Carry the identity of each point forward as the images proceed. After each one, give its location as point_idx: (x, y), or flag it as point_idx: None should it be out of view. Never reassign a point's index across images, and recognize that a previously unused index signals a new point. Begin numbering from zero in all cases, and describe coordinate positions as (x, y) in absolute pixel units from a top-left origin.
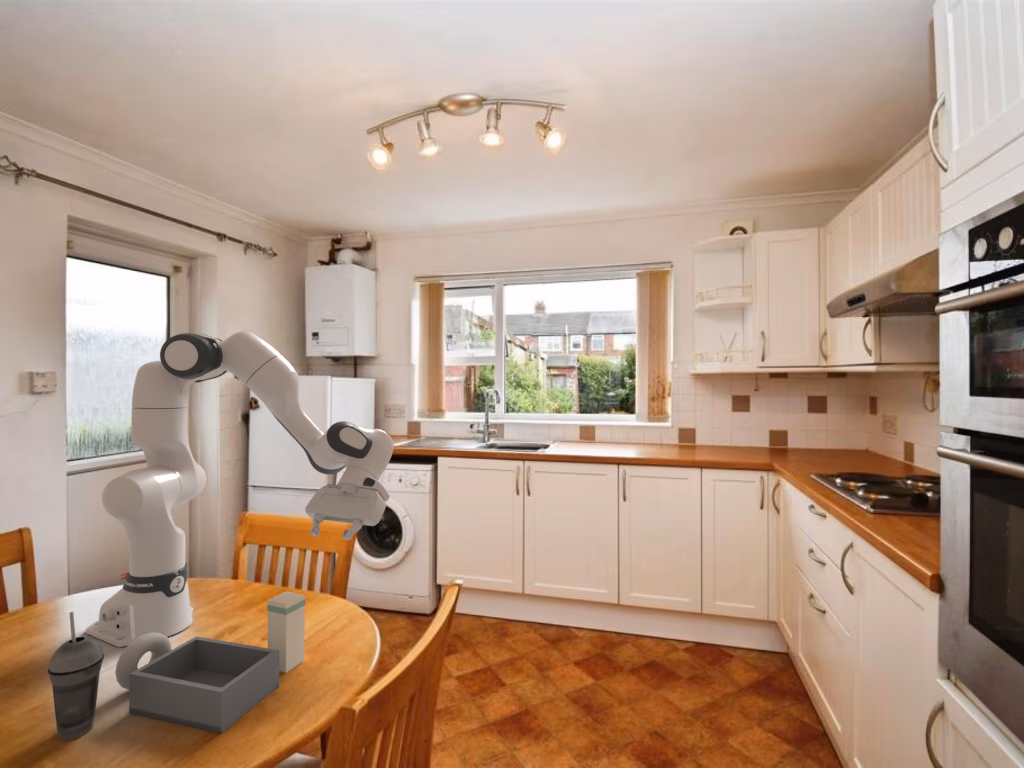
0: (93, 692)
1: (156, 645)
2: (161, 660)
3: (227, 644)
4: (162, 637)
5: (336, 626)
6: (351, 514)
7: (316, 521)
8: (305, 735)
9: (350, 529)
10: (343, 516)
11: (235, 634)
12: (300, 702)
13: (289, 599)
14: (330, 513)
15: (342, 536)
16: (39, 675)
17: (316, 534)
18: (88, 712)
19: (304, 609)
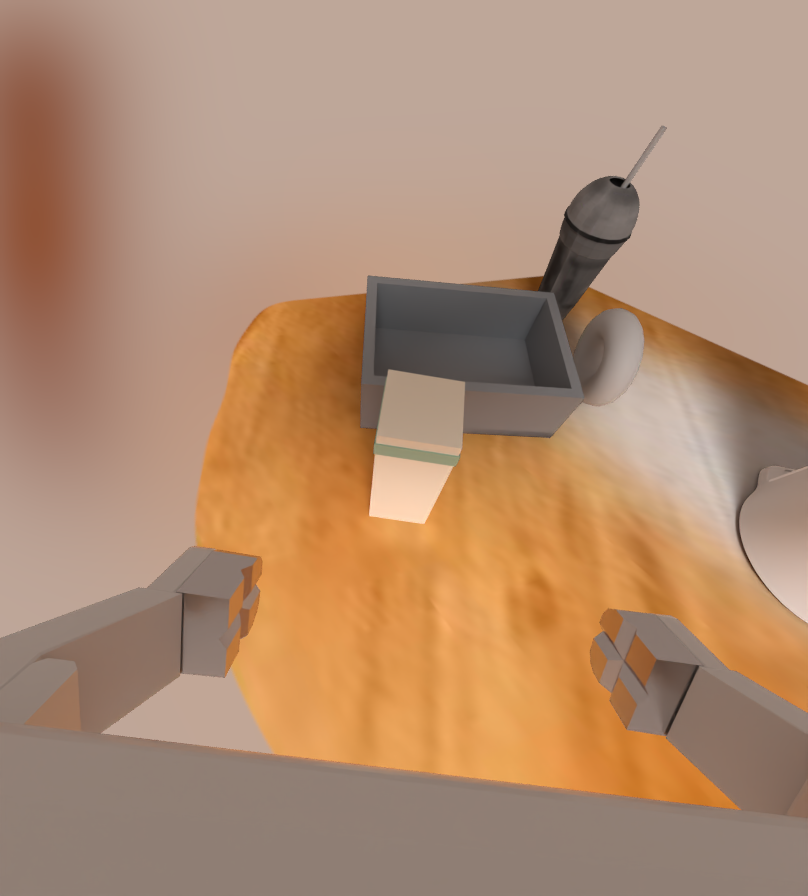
0: (553, 267)
1: (605, 345)
2: (553, 329)
3: (490, 383)
4: (616, 350)
5: (394, 725)
6: (6, 776)
7: (796, 766)
8: (239, 340)
9: (136, 594)
10: (284, 758)
11: (623, 581)
12: (290, 398)
13: (403, 397)
14: (663, 809)
15: (253, 556)
16: (750, 382)
17: (600, 643)
18: (542, 284)
19: (374, 459)
